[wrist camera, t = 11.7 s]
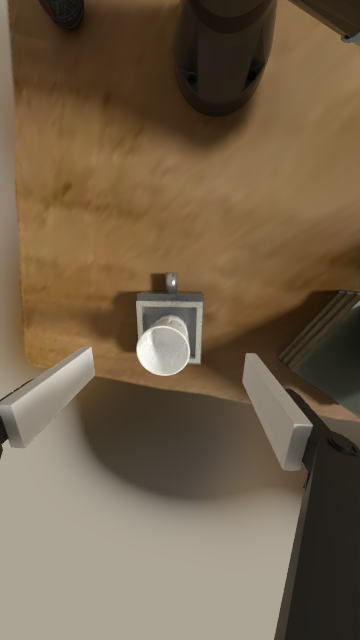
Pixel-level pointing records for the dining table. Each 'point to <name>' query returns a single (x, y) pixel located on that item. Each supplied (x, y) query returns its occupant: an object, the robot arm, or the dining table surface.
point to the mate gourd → (64, 11)
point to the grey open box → (173, 312)
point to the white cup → (164, 346)
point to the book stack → (331, 351)
